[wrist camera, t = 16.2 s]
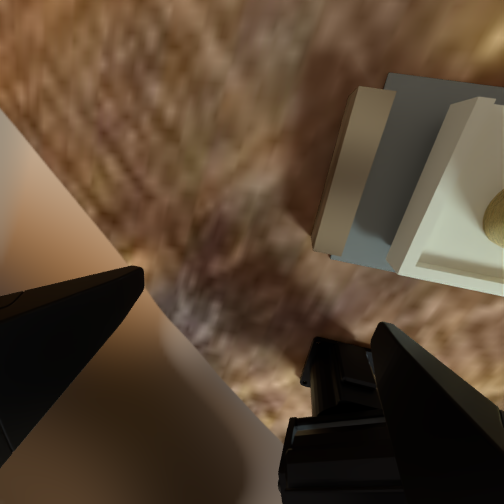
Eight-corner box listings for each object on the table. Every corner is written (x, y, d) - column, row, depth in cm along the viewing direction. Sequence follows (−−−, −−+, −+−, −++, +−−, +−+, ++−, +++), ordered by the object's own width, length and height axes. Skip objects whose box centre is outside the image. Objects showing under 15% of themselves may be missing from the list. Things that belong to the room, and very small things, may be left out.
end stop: (335, 241, 20) (341, 256, 17) (310, 237, 20) (313, 250, 17) (379, 100, 16) (396, 91, 13) (348, 96, 16) (359, 85, 13)
